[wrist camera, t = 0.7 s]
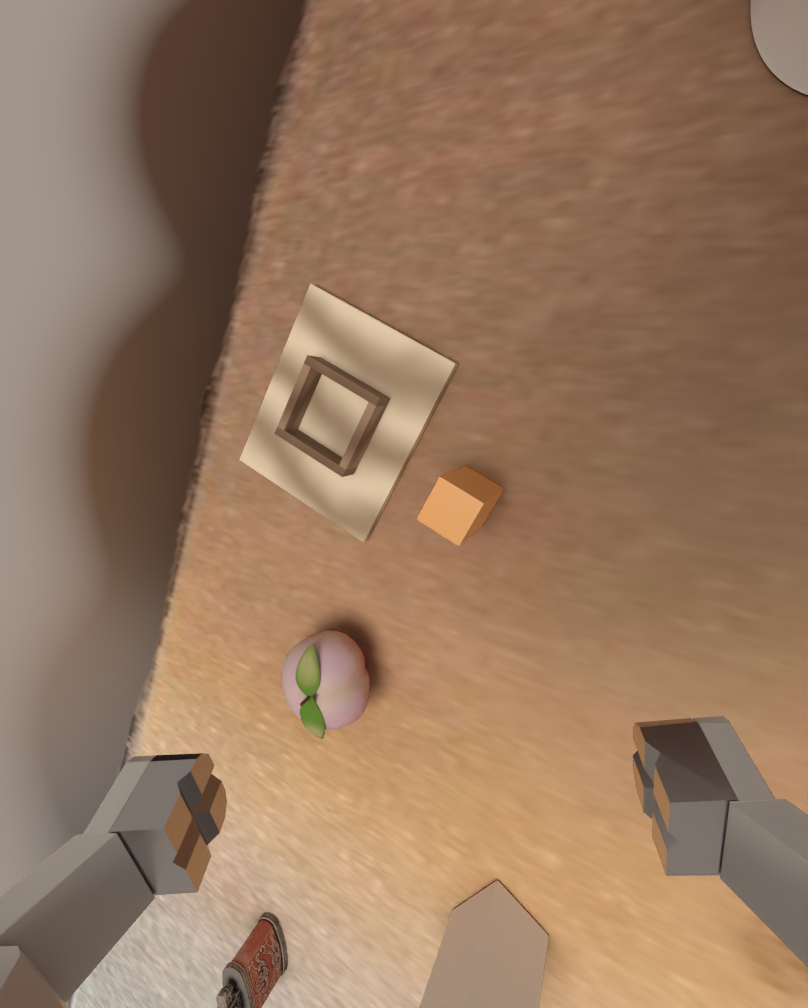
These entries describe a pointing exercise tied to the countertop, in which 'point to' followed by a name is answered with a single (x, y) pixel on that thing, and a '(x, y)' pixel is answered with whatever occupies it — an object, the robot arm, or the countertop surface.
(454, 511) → the orange cap block
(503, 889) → the milk carton
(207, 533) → the countertop surface
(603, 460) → the countertop surface
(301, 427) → the socket board
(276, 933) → the lighter
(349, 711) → the decorative fruit
